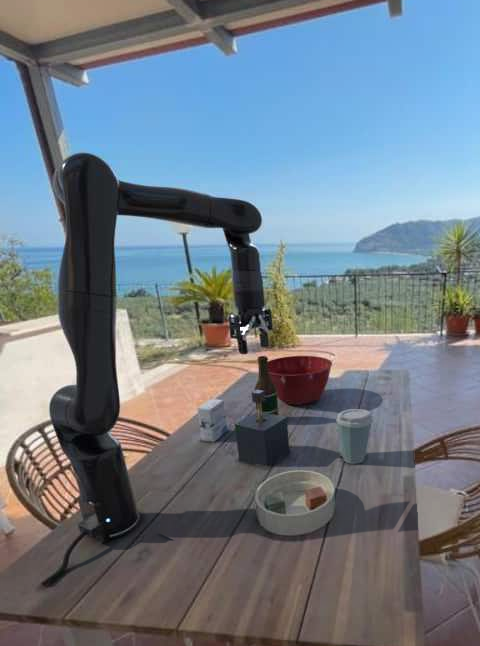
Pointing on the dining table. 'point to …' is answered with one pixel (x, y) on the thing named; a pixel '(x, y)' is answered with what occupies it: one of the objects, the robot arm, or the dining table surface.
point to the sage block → (275, 503)
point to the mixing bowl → (299, 378)
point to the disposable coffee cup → (354, 434)
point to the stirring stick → (259, 402)
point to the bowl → (295, 503)
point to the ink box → (212, 420)
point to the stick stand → (262, 439)
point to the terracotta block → (315, 498)
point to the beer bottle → (266, 387)
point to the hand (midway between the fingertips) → (254, 350)
